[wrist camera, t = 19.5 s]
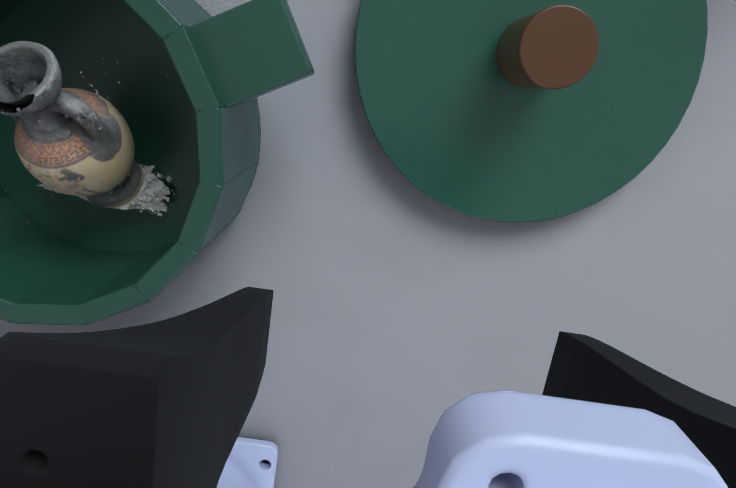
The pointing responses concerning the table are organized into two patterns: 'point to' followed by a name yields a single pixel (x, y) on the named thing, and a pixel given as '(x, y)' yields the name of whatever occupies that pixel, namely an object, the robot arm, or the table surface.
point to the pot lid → (526, 96)
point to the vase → (73, 135)
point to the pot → (140, 145)
